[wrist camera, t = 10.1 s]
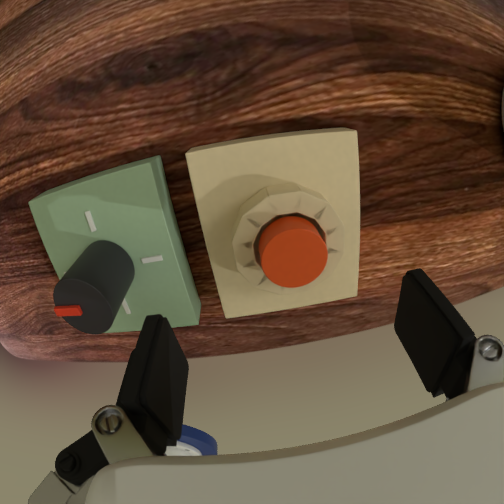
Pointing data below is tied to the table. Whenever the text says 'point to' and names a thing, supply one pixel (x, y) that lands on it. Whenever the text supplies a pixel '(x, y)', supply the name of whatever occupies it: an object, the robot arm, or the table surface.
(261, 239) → the stop button
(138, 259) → the dial base
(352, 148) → the button base
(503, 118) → the planter
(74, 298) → the dial
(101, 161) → the table surface
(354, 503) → the robot arm
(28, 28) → the table surface
